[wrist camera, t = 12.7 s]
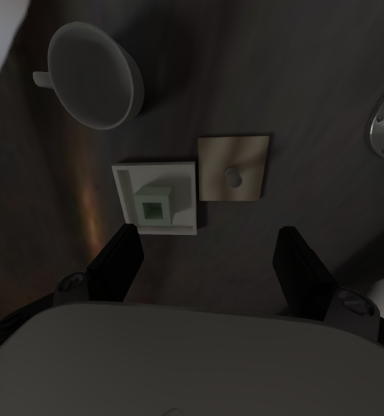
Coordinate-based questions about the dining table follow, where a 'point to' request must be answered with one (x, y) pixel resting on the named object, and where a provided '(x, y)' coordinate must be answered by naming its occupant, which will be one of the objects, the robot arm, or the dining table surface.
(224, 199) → the wooden peg base
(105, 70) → the teacup
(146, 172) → the tray
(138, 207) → the green hollow square block
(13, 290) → the dining table surface
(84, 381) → the robot arm
